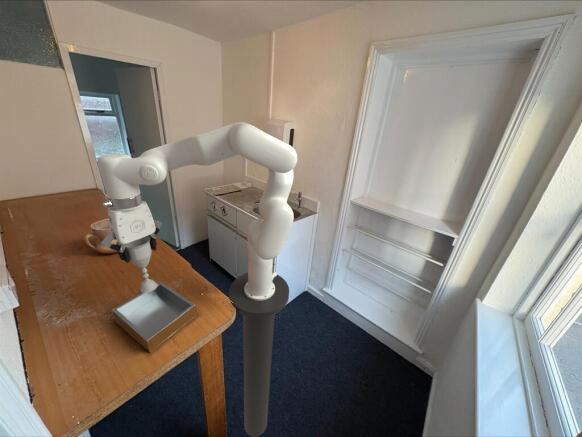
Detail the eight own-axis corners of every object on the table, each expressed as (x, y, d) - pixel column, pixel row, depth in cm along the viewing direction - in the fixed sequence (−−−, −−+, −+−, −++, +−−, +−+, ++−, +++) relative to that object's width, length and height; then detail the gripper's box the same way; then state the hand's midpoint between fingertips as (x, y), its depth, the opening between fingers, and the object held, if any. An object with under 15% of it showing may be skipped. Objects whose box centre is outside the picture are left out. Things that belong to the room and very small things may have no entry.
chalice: (141, 298, 72) (127, 250, 64) (132, 288, 76) (117, 241, 68) (164, 286, 78) (154, 240, 70) (155, 277, 81) (144, 232, 73)
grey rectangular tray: (163, 292, 92) (160, 281, 90) (196, 315, 84) (195, 304, 81) (115, 321, 79) (111, 310, 76) (150, 352, 70) (146, 341, 68)
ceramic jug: (129, 237, 125) (123, 213, 119) (138, 248, 117) (132, 223, 111) (86, 249, 113) (77, 223, 107) (93, 263, 105) (84, 235, 98)
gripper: (95, 215, 55) (114, 274, 63) (164, 195, 69) (173, 246, 76) (81, 206, 58) (101, 263, 66) (149, 190, 72) (160, 239, 80)
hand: (140, 254), depth 71 cm, fingers closed on chalice, 7 cm apart
